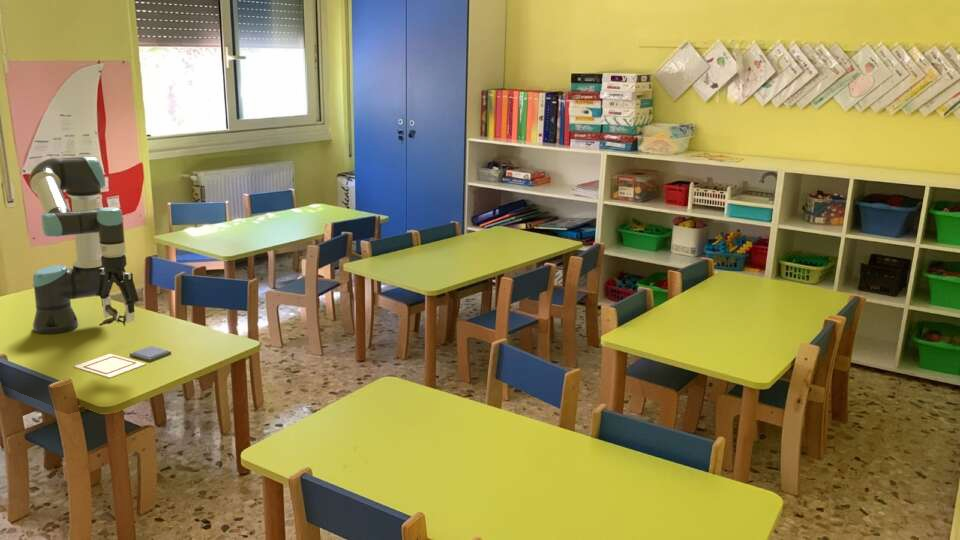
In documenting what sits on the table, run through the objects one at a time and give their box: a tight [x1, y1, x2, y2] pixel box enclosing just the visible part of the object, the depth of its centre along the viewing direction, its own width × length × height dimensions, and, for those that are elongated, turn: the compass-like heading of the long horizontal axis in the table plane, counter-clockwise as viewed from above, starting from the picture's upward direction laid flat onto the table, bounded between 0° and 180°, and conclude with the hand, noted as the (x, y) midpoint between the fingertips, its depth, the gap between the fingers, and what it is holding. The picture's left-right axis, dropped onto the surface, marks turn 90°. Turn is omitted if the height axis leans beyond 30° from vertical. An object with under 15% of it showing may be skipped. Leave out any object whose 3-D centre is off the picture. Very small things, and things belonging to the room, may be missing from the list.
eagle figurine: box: [98, 304, 126, 327], centre depth 263 cm, size 8×7×9 cm
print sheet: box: [73, 353, 147, 379], centre depth 266 cm, size 18×14×1 cm
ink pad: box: [129, 345, 172, 362], centre depth 277 cm, size 10×9×1 cm
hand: (119, 319), depth 265 cm, fingers closed on eagle figurine, 10 cm apart
